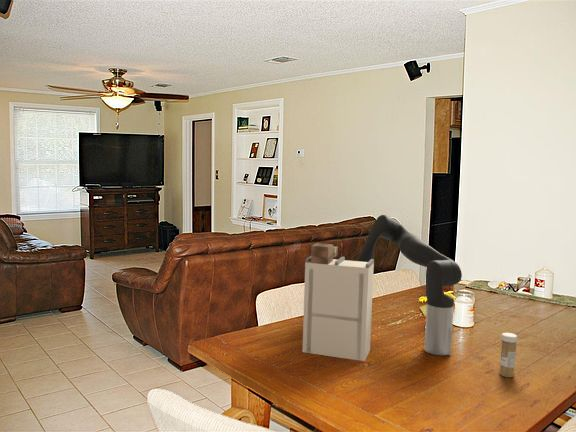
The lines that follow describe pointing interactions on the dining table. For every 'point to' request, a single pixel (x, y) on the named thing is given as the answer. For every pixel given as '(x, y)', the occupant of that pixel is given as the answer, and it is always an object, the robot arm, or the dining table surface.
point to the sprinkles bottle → (508, 354)
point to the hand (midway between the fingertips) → (335, 260)
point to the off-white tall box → (338, 308)
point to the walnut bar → (323, 253)
